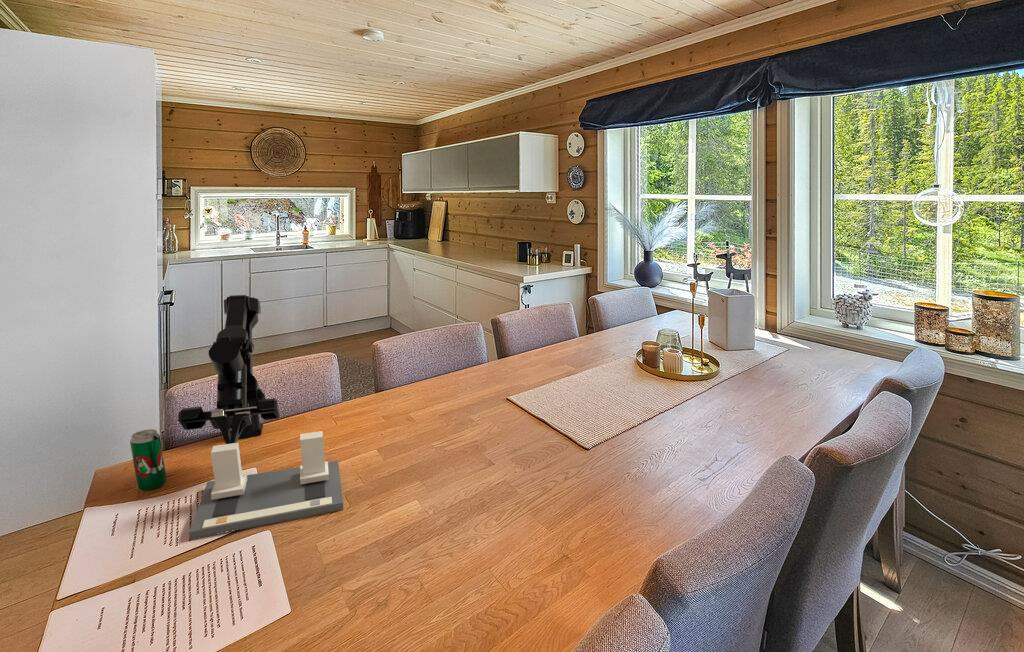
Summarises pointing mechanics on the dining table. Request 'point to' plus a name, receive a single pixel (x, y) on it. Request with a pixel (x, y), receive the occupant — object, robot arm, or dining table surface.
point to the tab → (313, 458)
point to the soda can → (148, 460)
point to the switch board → (267, 502)
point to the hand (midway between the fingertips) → (230, 451)
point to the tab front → (227, 471)
